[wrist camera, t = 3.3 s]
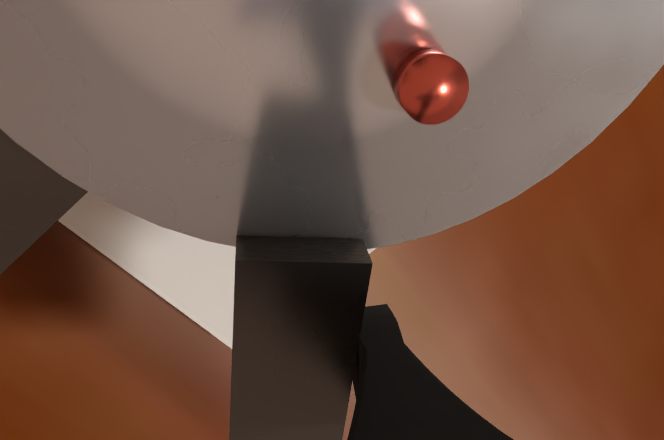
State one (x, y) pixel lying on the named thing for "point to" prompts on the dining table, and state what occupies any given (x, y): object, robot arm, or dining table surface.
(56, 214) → the pot
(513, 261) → the dining table surface
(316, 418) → the lid
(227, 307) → the board
